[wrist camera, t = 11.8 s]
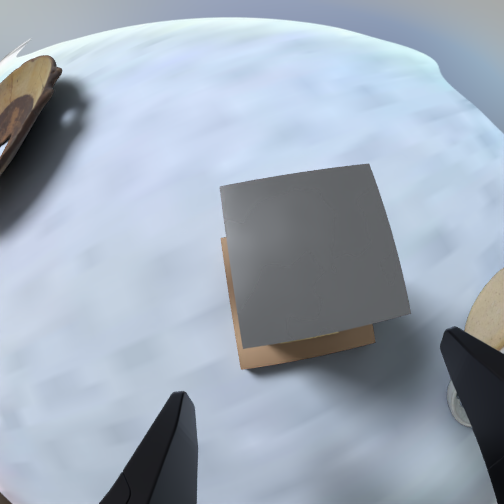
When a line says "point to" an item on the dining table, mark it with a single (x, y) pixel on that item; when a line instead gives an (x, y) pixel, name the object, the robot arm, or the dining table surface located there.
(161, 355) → the dining table surface
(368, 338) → the post base
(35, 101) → the oil lamp
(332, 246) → the grey cardboard box
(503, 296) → the ceramic mug
